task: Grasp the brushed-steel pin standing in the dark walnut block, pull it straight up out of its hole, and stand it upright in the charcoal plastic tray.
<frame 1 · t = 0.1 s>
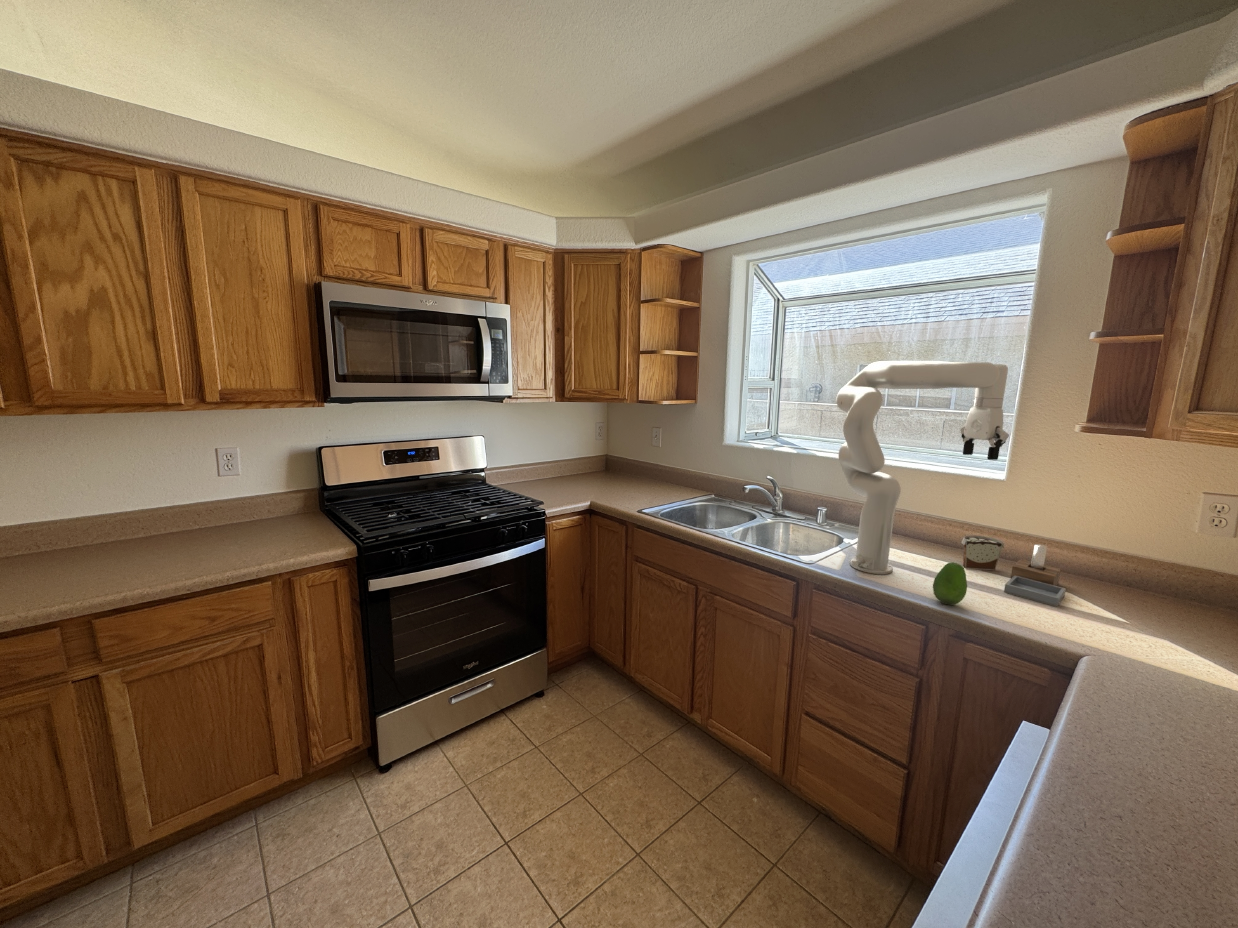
hand: (979, 457, 160), 37 cm above the counter, tool pointing down, fingers open, 9 cm apart
avocado: (947, 603, 138), on the counter
pin block: (1034, 582, 154), on the counter
food container: (974, 566, 167), on the counter
pin: (1037, 564, 153), in the pin block
tray: (1033, 594, 145), on the counter
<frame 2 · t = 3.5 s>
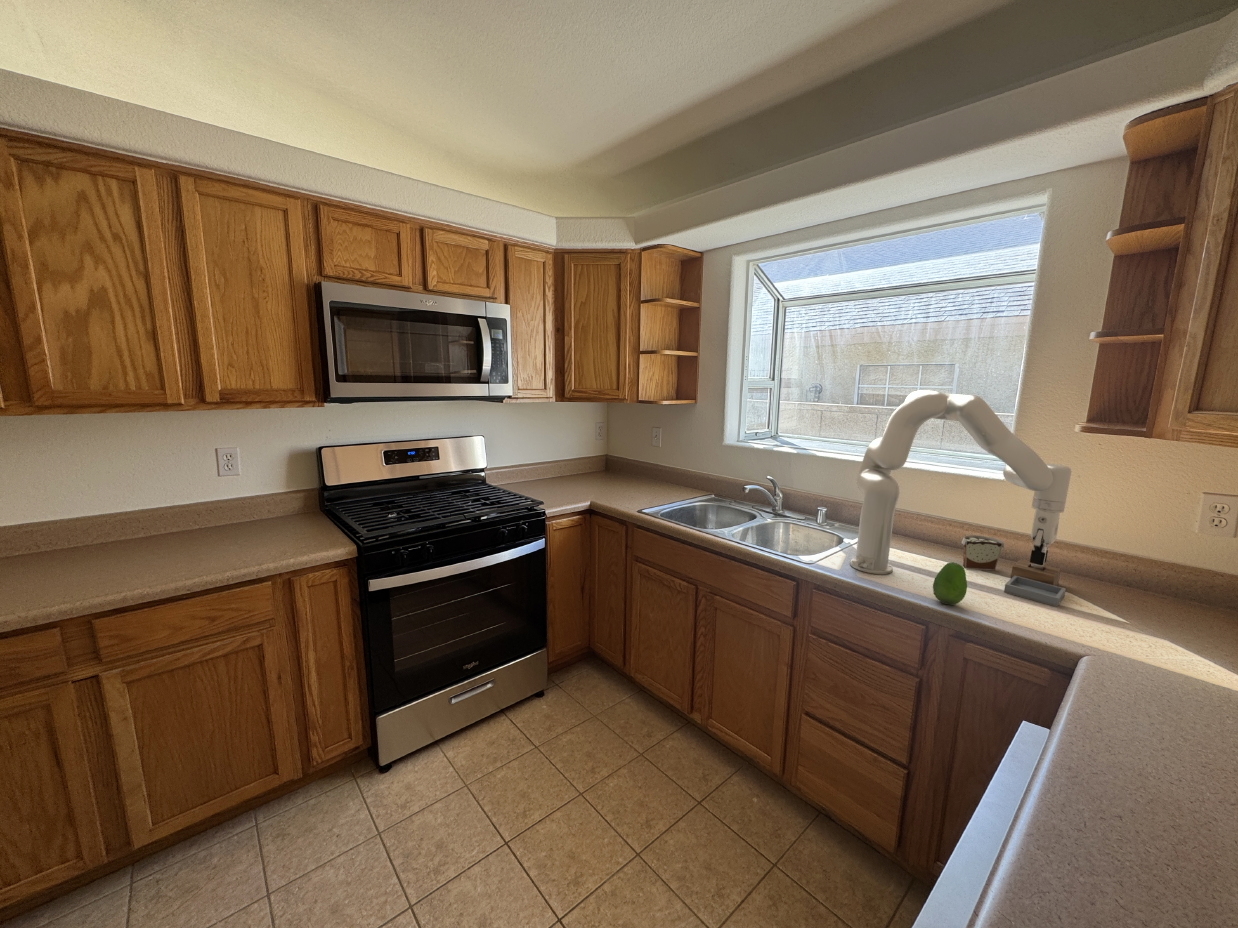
hand: (1037, 561, 153), 7 cm above the counter, tool pointing down, fingers closed on pin, 3 cm apart
pin: (1037, 564, 153), in the pin block, touching gripper
everything else where it was.
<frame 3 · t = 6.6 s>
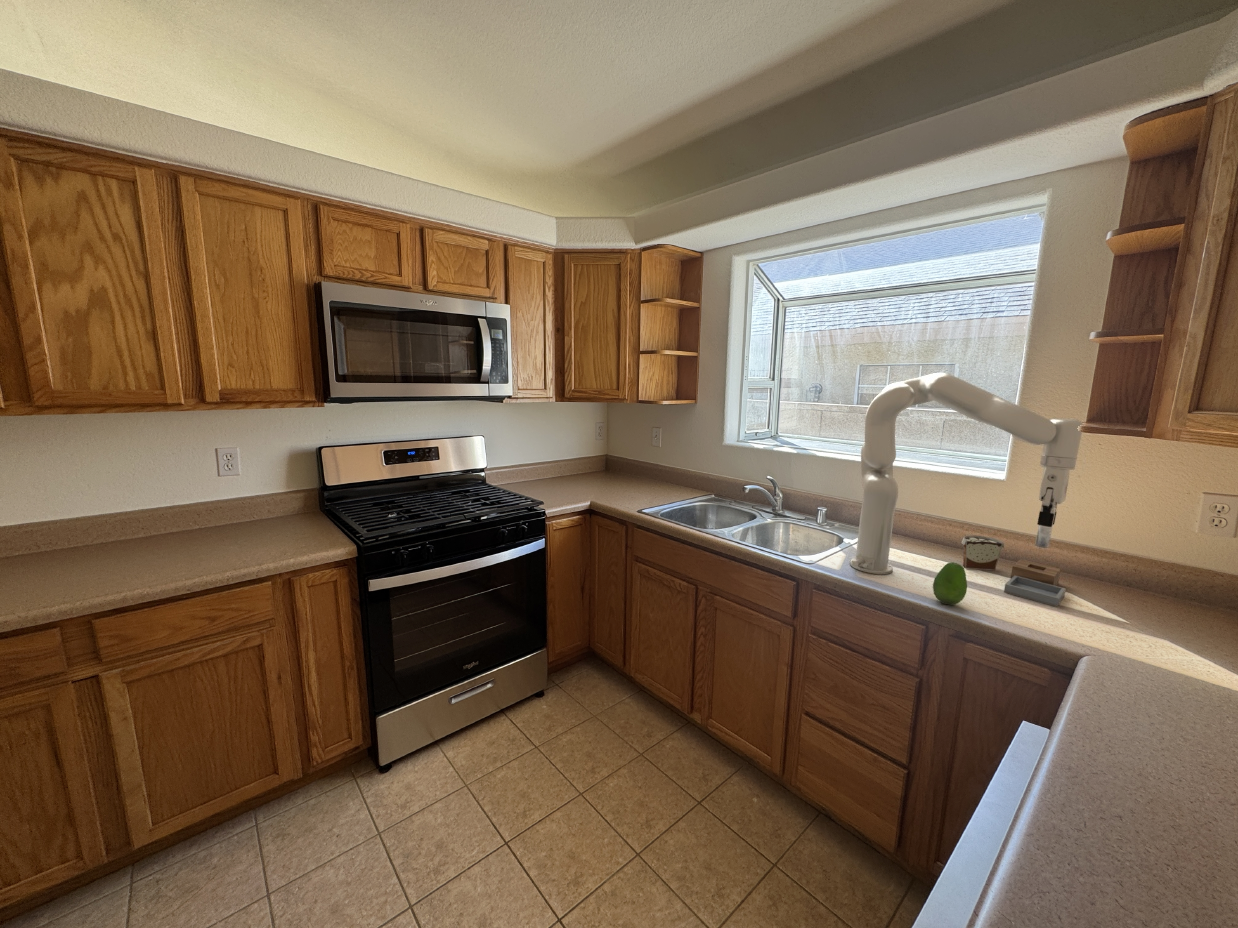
hand: (1045, 524, 143), 21 cm above the counter, tool pointing down, fingers closed on pin, 3 cm apart
pin: (1045, 526, 144), point 20 cm above the counter, touching gripper
everything else where it was.
when the fingers open (9 cm above the counter, at t = 9.8 s): pin drops 1 cm, resting on tray.
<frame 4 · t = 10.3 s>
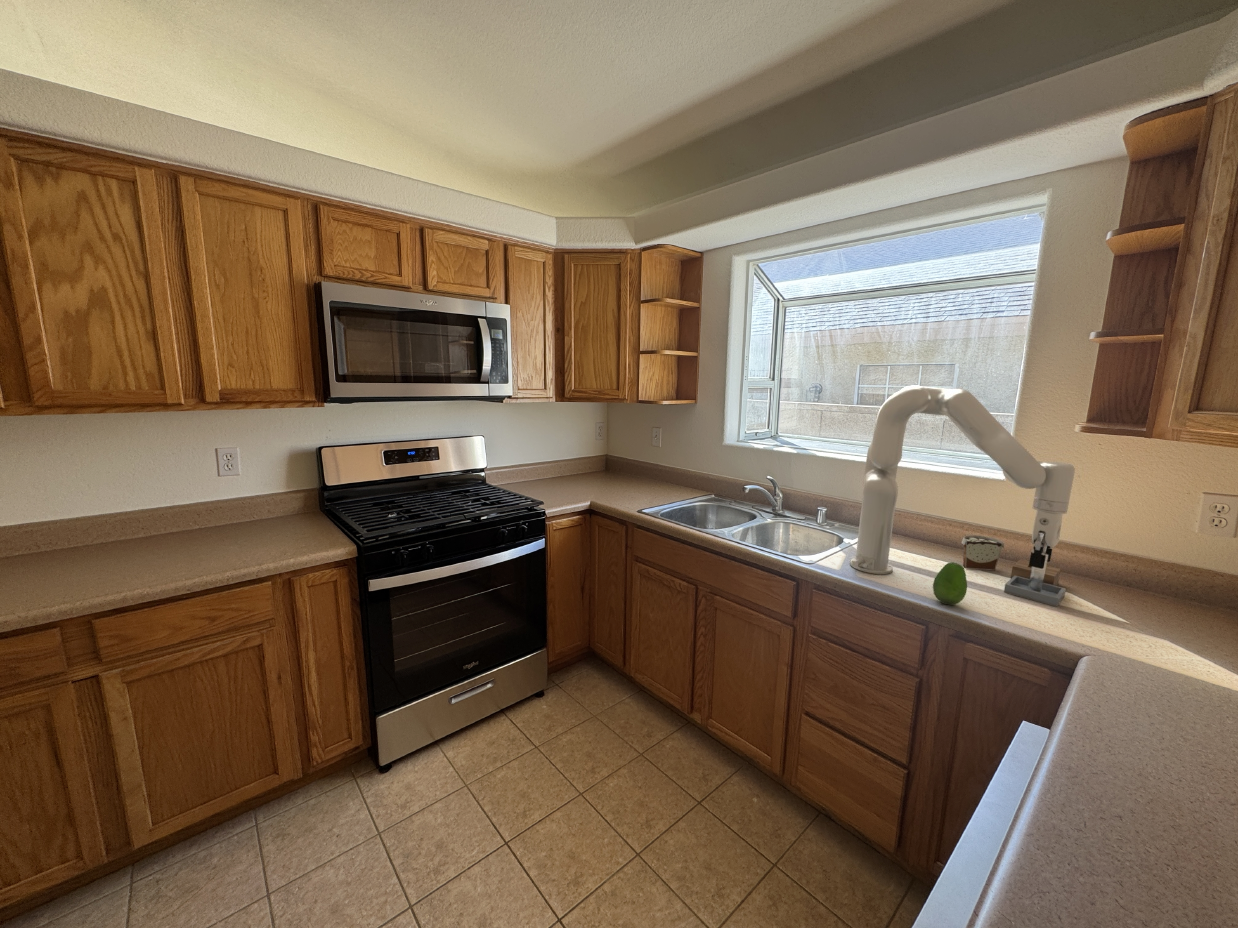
hand: (1039, 563, 144), 10 cm above the counter, tool pointing down, fingers open, 8 cm apart
pin: (1037, 573, 144), in the tray, point 7 cm above the counter
everything else where it was.
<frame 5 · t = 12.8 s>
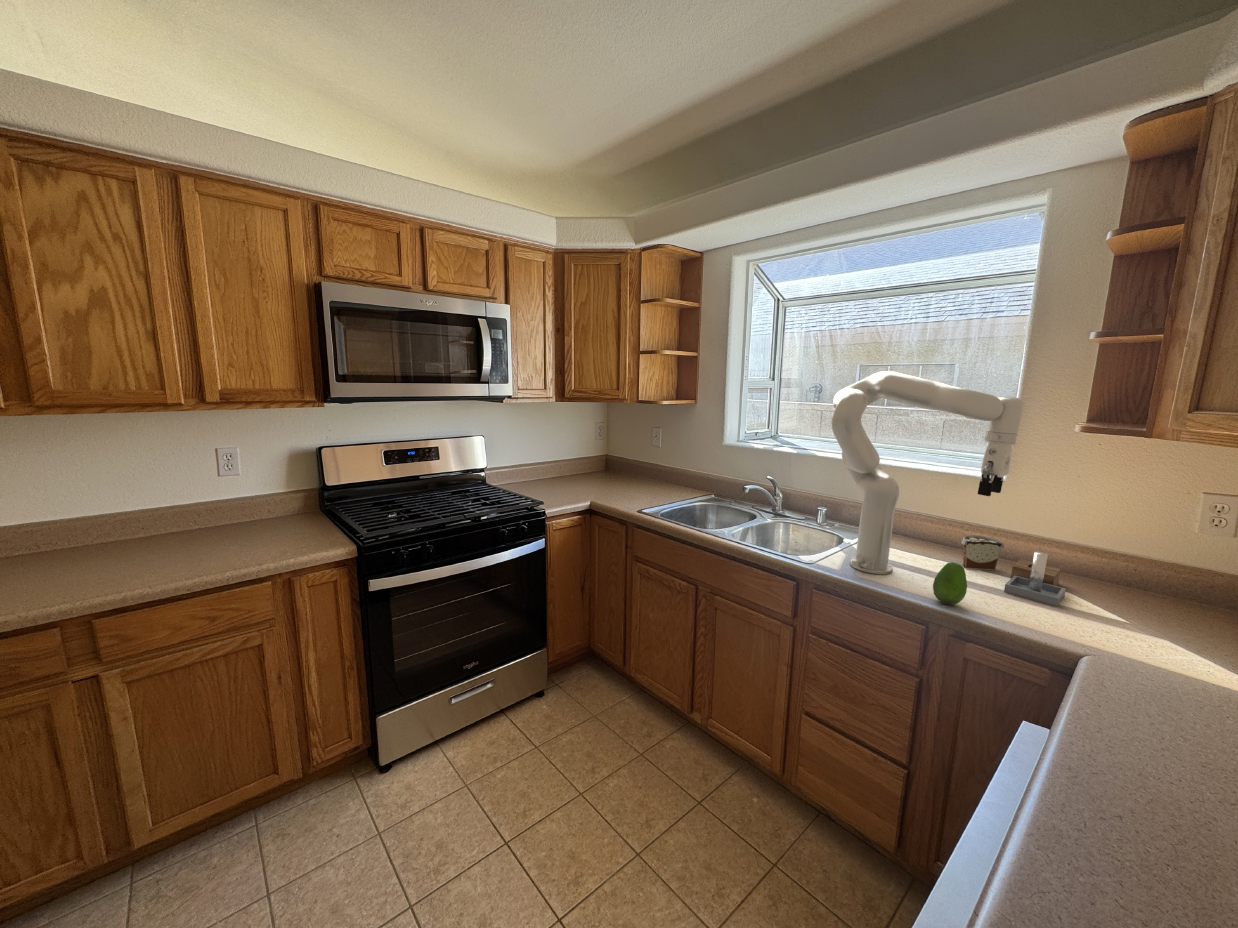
hand: (989, 493, 152), 27 cm above the counter, tool pointing down, fingers open, 9 cm apart
nothing on the counter moved.
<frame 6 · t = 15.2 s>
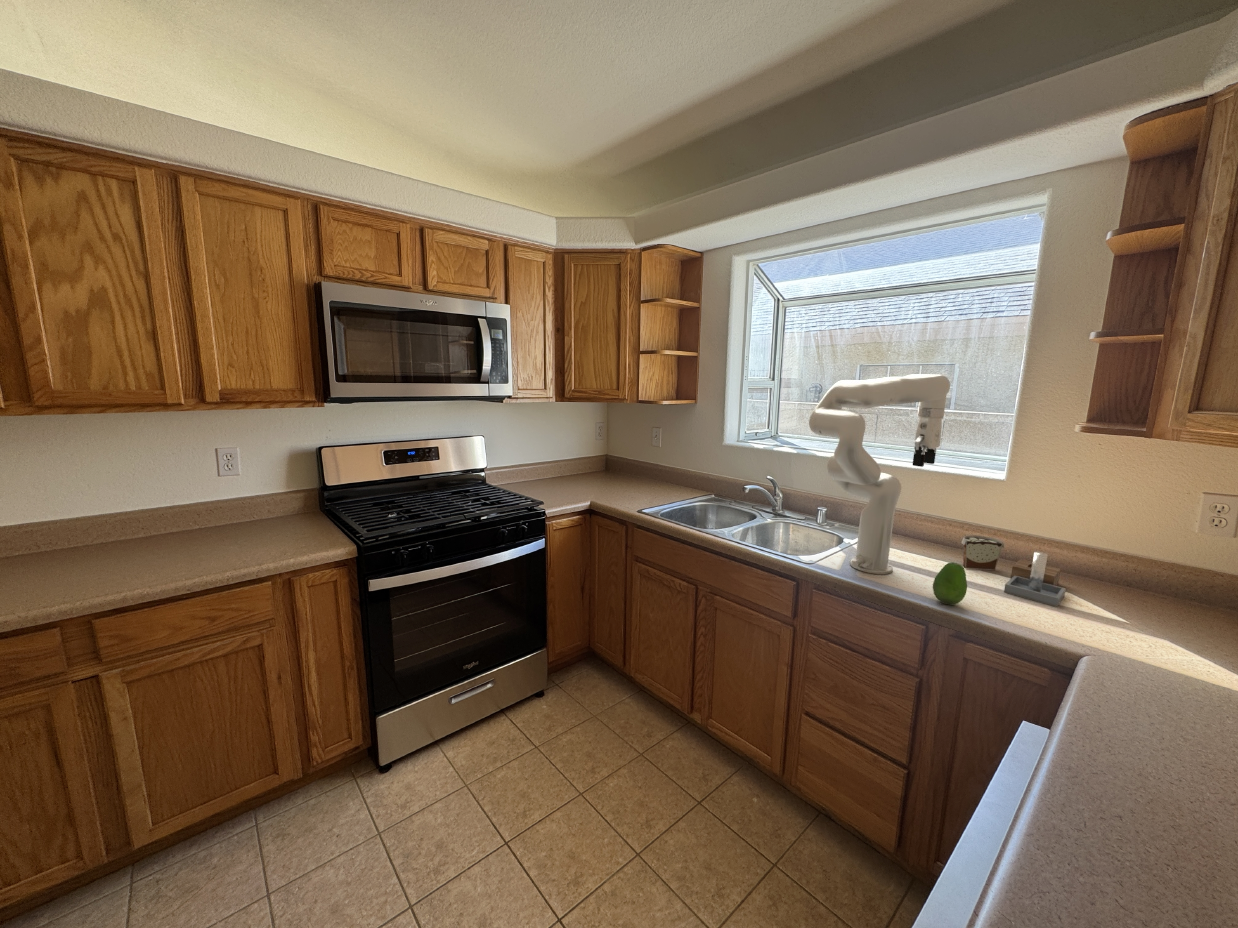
hand: (923, 464, 166), 33 cm above the counter, tool pointing down, fingers open, 9 cm apart
nothing on the counter moved.
at the end: pin inside the target area on the tray (0.1 cm from its centre), point 6.6 cm above the tray's base; pin tilted 1°; the gripper is holding nothing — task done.
